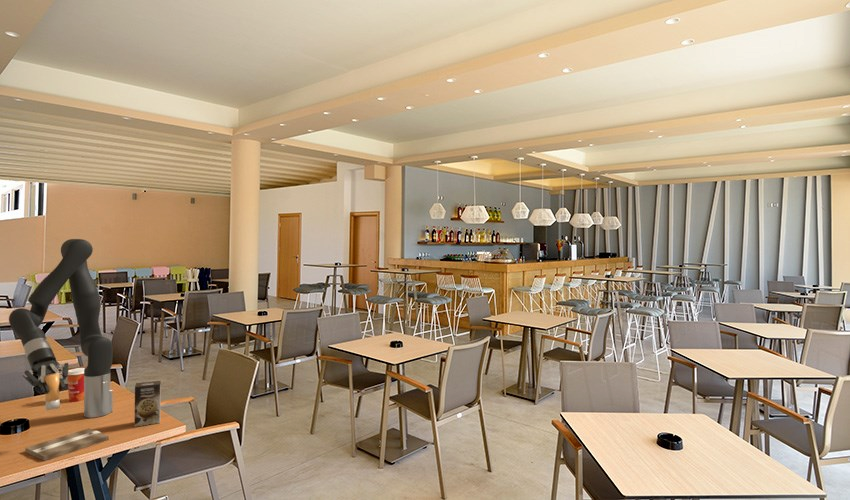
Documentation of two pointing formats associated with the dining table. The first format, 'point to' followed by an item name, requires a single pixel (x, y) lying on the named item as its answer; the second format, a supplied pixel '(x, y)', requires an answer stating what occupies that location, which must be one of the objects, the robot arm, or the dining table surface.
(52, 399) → the tan cylinder
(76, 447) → the board
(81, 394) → the paper cup
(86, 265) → the robot arm
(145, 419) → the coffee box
